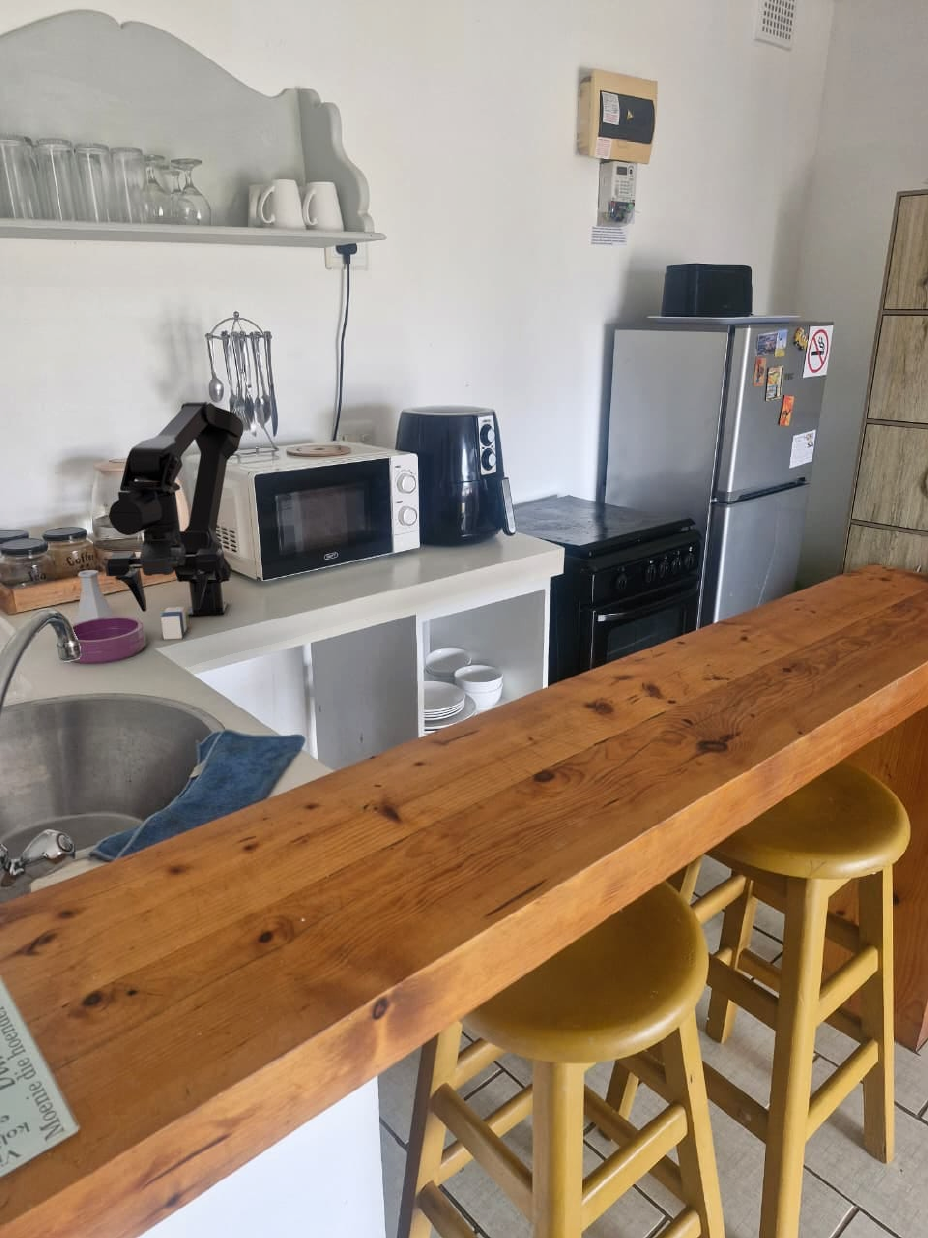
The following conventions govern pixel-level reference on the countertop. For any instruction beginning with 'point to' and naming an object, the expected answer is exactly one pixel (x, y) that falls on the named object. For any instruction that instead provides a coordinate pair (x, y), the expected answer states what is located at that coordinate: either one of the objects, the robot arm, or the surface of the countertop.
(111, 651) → the bowl
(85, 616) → the flask
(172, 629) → the eraser
